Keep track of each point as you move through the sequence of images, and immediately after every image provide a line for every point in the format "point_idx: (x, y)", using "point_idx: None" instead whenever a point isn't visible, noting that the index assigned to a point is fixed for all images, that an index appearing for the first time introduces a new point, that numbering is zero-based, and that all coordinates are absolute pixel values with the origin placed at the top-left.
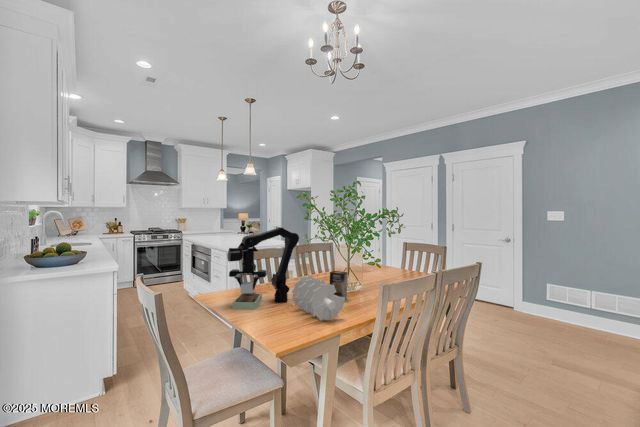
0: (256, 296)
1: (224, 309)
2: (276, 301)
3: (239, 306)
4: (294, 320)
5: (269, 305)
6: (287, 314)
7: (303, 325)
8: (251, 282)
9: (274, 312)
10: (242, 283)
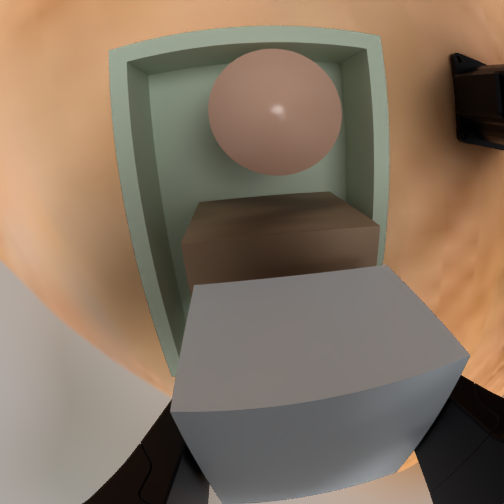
0: (308, 52)
1: (117, 325)
2: (466, 121)
3: None
4: (484, 361)
5: (429, 190)
6: (485, 318)
7: (488, 380)
8: (398, 415)
9: (446, 312)
10: (222, 484)
